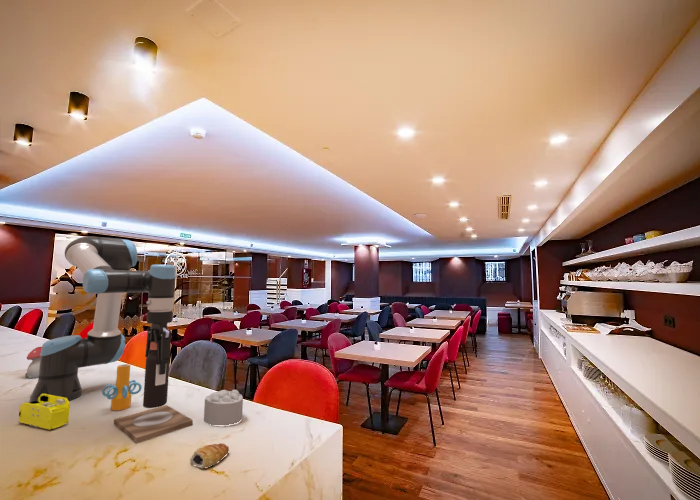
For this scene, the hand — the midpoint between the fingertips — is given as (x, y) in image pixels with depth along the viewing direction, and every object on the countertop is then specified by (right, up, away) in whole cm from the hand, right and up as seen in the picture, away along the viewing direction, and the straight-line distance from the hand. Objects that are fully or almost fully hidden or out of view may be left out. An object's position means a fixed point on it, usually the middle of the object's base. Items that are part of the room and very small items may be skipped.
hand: (155, 382), depth 107 cm
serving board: (0, -13, -1) cm, 13 cm away
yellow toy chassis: (-35, -13, -2) cm, 38 cm away
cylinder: (-20, -15, +12) cm, 28 cm away
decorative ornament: (-87, -18, +50) cm, 102 cm away
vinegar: (0, -7, 0) cm, 7 cm away
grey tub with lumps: (+21, -14, +3) cm, 26 cm away
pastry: (+27, -12, -22) cm, 37 cm away
